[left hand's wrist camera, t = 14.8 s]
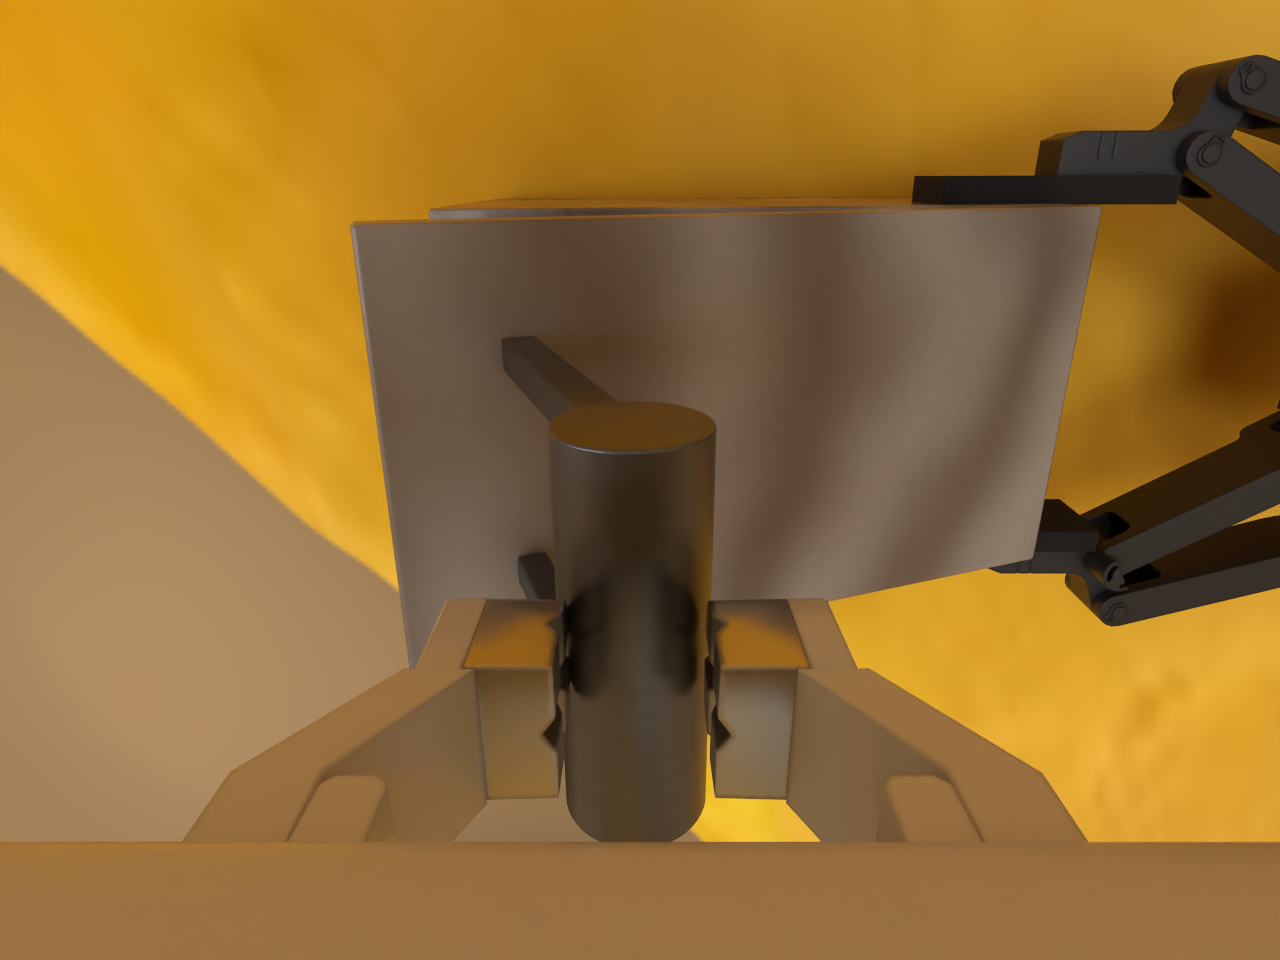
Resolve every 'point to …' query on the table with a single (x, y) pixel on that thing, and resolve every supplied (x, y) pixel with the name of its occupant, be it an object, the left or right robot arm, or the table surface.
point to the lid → (707, 433)
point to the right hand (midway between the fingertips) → (905, 370)
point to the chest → (677, 206)
